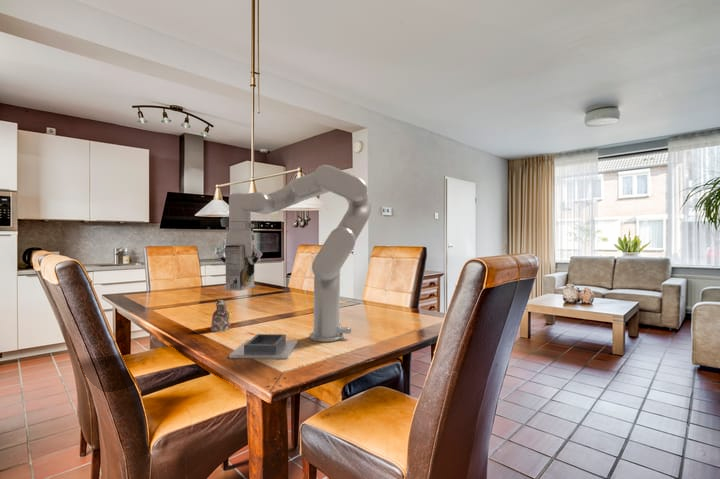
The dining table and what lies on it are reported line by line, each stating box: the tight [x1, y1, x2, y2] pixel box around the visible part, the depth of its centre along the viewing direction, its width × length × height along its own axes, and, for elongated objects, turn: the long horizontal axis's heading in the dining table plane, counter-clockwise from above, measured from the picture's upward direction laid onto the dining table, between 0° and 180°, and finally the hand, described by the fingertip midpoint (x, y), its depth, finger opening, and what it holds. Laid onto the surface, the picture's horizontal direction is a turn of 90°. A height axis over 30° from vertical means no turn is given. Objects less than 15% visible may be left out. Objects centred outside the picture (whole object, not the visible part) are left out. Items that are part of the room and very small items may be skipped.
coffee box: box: [224, 245, 255, 292], centre depth 131 cm, size 9×6×16 cm
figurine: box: [210, 298, 231, 333], centre depth 143 cm, size 7×7×12 cm
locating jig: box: [228, 333, 299, 360], centre depth 117 cm, size 18×16×4 cm
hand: (240, 274), depth 131 cm, fingers closed on coffee box, 7 cm apart
